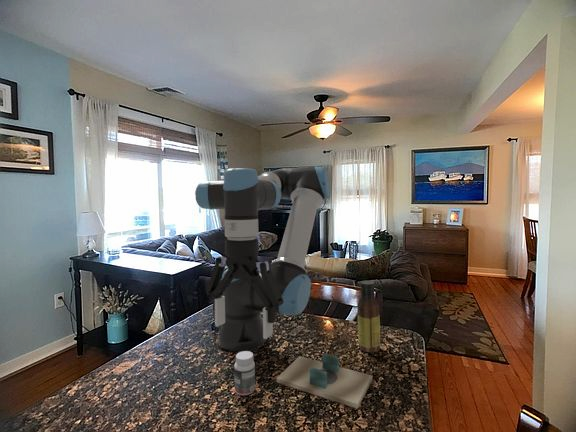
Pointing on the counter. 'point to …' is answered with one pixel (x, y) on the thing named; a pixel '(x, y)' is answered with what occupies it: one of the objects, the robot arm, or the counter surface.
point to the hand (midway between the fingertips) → (243, 330)
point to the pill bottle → (244, 373)
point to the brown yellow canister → (368, 319)
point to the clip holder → (327, 380)
